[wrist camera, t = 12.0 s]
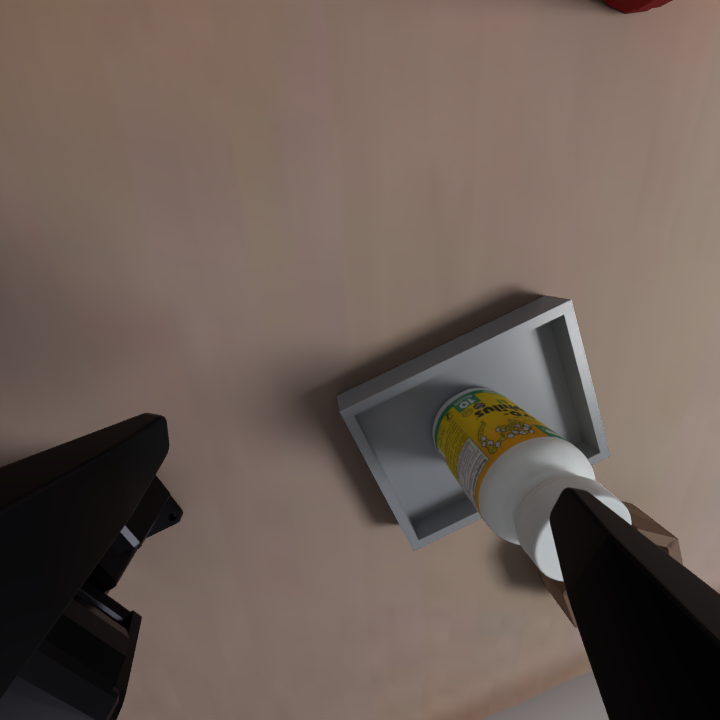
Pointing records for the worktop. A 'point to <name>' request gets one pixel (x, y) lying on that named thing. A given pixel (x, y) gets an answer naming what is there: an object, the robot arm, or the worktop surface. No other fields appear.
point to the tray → (456, 374)
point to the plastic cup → (635, 5)
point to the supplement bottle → (513, 469)
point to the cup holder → (642, 525)
